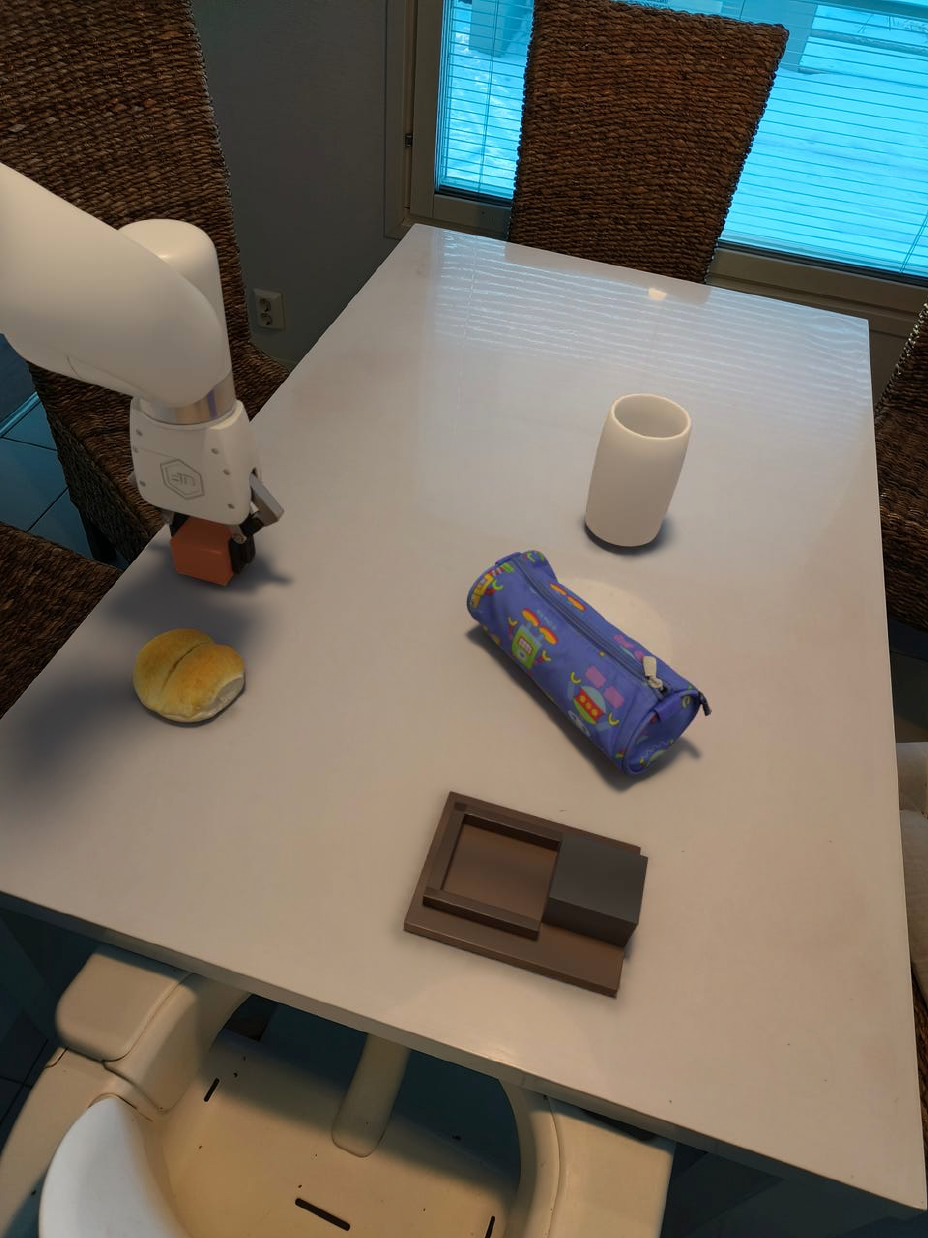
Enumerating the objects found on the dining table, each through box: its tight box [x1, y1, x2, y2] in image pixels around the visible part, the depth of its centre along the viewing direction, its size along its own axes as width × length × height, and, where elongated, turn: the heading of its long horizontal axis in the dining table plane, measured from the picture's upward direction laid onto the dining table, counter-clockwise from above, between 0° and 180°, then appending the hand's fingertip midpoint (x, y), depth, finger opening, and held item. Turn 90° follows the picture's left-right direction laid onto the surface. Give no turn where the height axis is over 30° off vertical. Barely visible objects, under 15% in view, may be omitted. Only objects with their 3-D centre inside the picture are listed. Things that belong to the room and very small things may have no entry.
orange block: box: [169, 516, 235, 586], centre depth 80 cm, size 5×6×4 cm
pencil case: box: [465, 549, 713, 776], centre depth 71 cm, size 22×9×10 cm, turn 37°
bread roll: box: [132, 627, 245, 723], centre depth 71 cm, size 8×9×4 cm
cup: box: [584, 393, 693, 547], centre depth 85 cm, size 8×8×14 cm
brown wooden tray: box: [403, 790, 649, 997], centre depth 60 cm, size 11×15×5 cm
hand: (215, 555), depth 81 cm, fingers closed on orange block, 5 cm apart
